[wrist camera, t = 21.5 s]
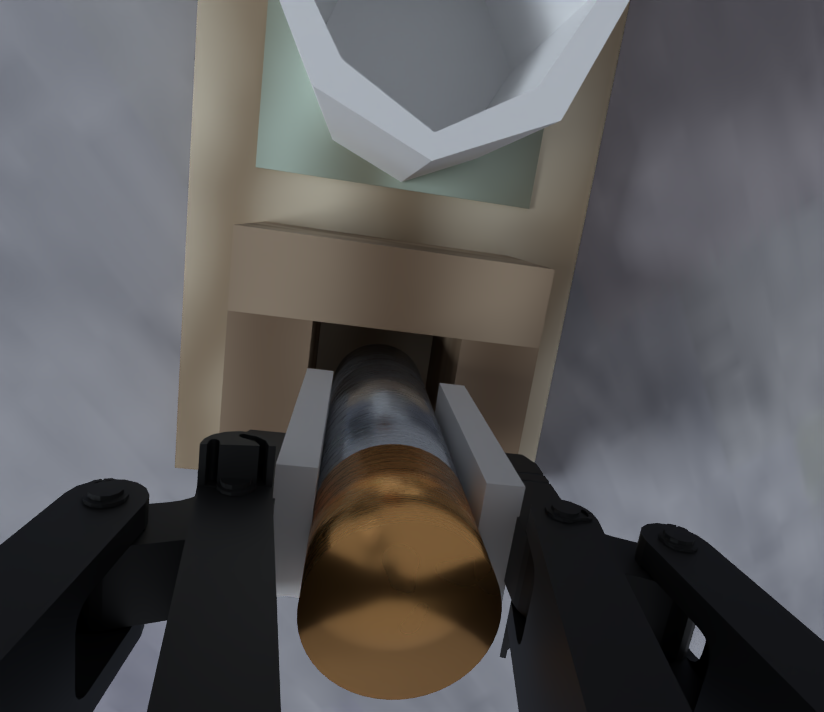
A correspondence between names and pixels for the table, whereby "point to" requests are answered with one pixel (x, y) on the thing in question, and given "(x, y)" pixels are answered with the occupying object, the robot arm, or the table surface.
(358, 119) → the mug
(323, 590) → the cylindrical pin
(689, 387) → the table surface
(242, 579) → the robot arm
